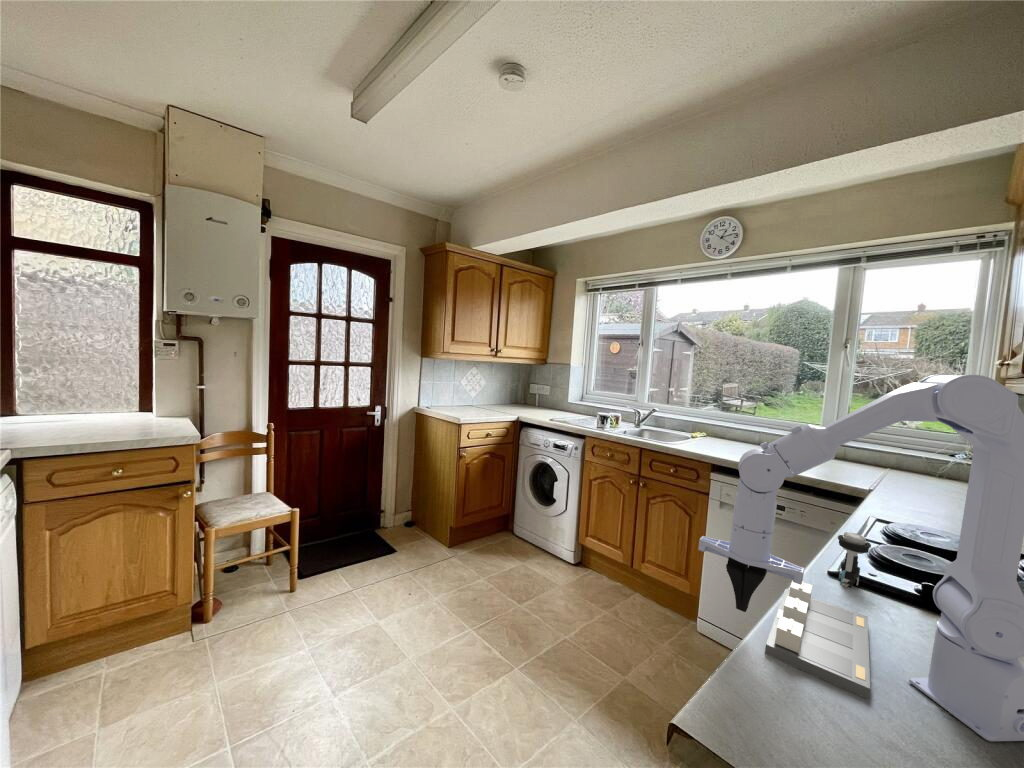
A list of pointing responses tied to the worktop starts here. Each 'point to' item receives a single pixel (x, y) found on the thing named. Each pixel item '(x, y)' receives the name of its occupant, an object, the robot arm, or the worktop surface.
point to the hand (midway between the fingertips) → (741, 607)
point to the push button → (852, 557)
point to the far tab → (801, 591)
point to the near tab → (789, 634)
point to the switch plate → (829, 646)
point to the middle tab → (795, 610)
